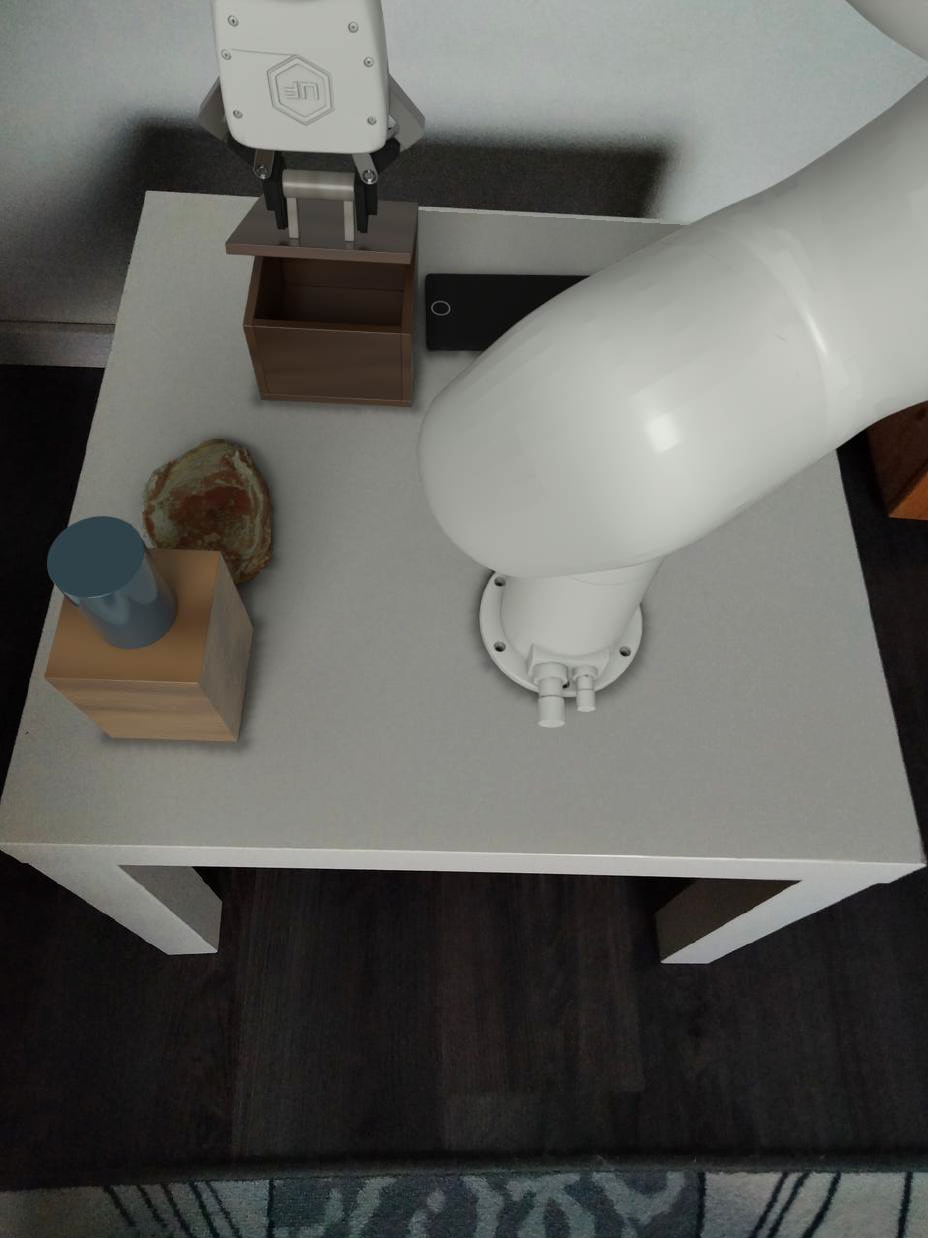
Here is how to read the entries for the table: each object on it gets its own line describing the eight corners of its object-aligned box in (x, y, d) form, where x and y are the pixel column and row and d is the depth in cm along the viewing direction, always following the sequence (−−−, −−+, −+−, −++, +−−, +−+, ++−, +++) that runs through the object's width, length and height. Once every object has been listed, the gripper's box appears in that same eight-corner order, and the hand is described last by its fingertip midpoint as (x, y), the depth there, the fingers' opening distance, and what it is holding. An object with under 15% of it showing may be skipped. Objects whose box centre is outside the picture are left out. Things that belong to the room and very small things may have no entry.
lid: (411, 264, 60) (412, 184, 57) (226, 254, 60) (216, 173, 56) (418, 212, 71) (419, 143, 68) (262, 203, 71) (256, 133, 67)
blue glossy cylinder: (170, 651, 50) (134, 599, 44) (85, 648, 50) (37, 595, 44) (183, 577, 52) (151, 517, 46) (101, 573, 52) (58, 513, 46)
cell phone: (424, 280, 80) (424, 272, 79) (611, 282, 81) (613, 274, 80) (426, 352, 76) (426, 344, 75) (621, 353, 77) (624, 346, 76)
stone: (125, 488, 69) (112, 466, 66) (237, 438, 71) (229, 415, 68) (191, 616, 64) (179, 598, 61) (309, 559, 67) (303, 539, 64)
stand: (238, 742, 60) (198, 683, 49) (110, 737, 60) (43, 678, 49) (253, 628, 64) (220, 550, 53) (134, 623, 64) (76, 544, 53)
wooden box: (411, 407, 74) (411, 334, 66) (261, 399, 73) (242, 325, 65) (418, 291, 79) (418, 212, 71) (278, 284, 79) (263, 203, 71)
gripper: (115, -42, 43) (199, 249, 60) (446, -23, 44) (439, 260, 60) (140, -119, 46) (214, 178, 63) (448, -101, 47) (441, 188, 63)
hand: (324, 215), depth 61 cm, fingers closed on lid, 5 cm apart
